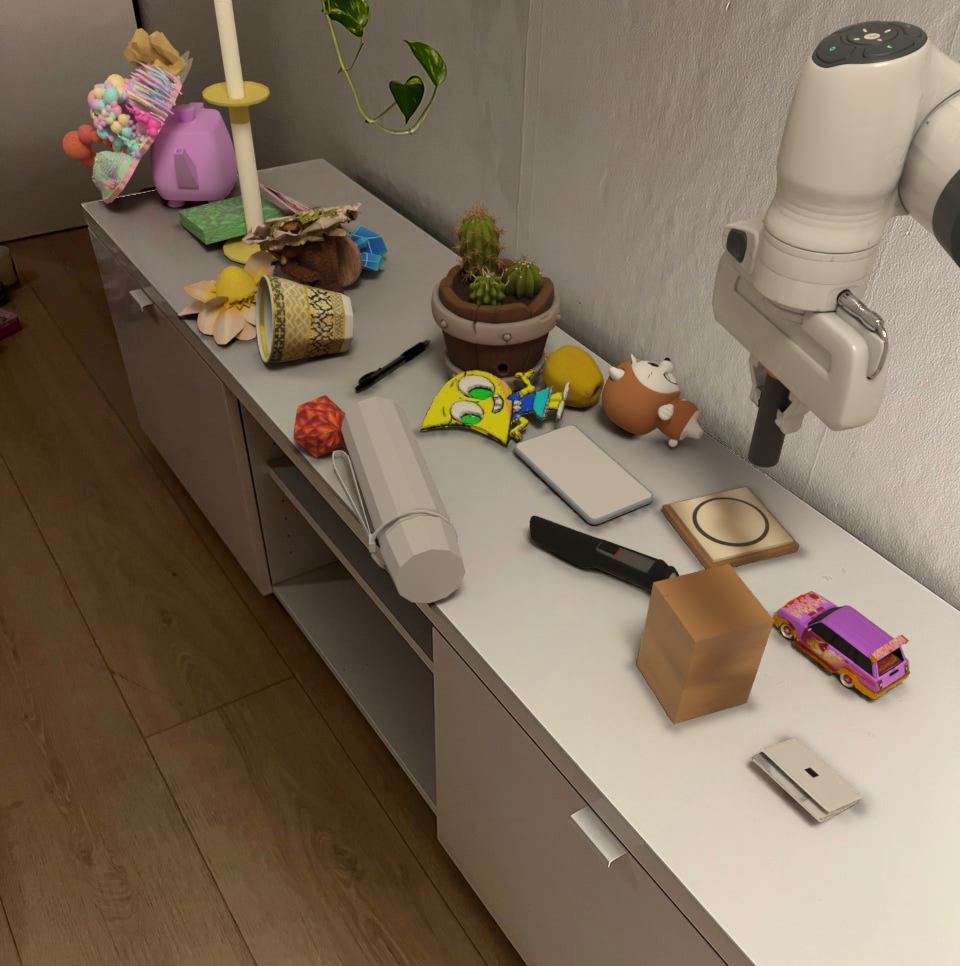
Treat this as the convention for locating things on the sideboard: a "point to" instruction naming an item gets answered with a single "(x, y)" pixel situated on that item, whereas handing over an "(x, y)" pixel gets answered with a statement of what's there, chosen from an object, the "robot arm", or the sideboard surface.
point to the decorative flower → (230, 300)
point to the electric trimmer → (600, 553)
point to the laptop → (806, 779)
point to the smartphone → (583, 474)
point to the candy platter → (129, 112)
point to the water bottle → (400, 502)
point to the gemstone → (359, 254)
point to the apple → (573, 375)
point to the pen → (391, 365)
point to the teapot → (193, 156)
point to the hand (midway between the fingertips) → (773, 415)
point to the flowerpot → (493, 306)
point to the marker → (768, 424)
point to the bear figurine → (306, 244)
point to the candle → (239, 127)
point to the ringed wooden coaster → (729, 528)
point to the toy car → (845, 643)
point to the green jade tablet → (223, 218)
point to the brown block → (703, 642)
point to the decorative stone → (319, 426)
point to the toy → (491, 405)
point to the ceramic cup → (300, 320)
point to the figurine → (649, 401)
